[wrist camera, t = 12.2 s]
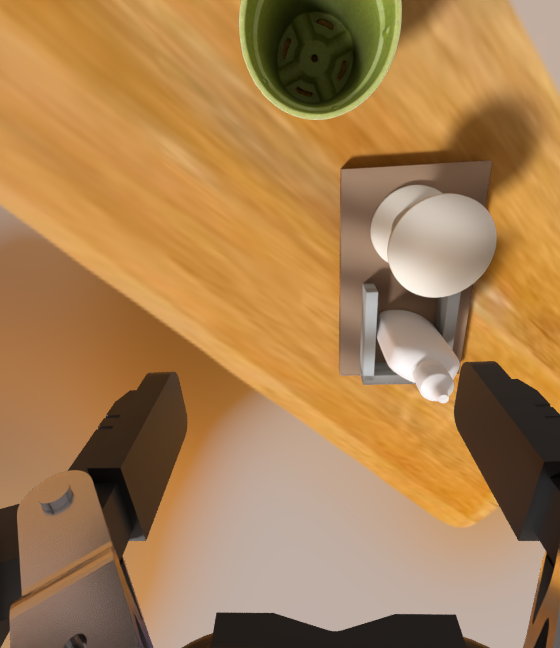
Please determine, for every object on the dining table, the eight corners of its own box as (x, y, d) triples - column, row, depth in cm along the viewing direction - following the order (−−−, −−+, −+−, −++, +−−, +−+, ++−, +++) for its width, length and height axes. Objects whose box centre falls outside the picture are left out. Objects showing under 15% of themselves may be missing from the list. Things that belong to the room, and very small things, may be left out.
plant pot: (396, 8, 28) (431, -49, 20) (350, 143, 32) (364, 139, 24) (275, -36, 27) (263, -113, 20) (243, 107, 31) (222, 91, 23)
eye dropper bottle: (403, 358, 38) (443, 439, 27) (366, 322, 37) (391, 393, 26) (439, 330, 37) (495, 404, 26) (401, 292, 35) (444, 353, 24)
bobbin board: (340, 168, 33) (353, 174, 24) (484, 160, 32) (553, 162, 23) (338, 368, 41) (348, 427, 32) (453, 366, 40) (495, 426, 31)
